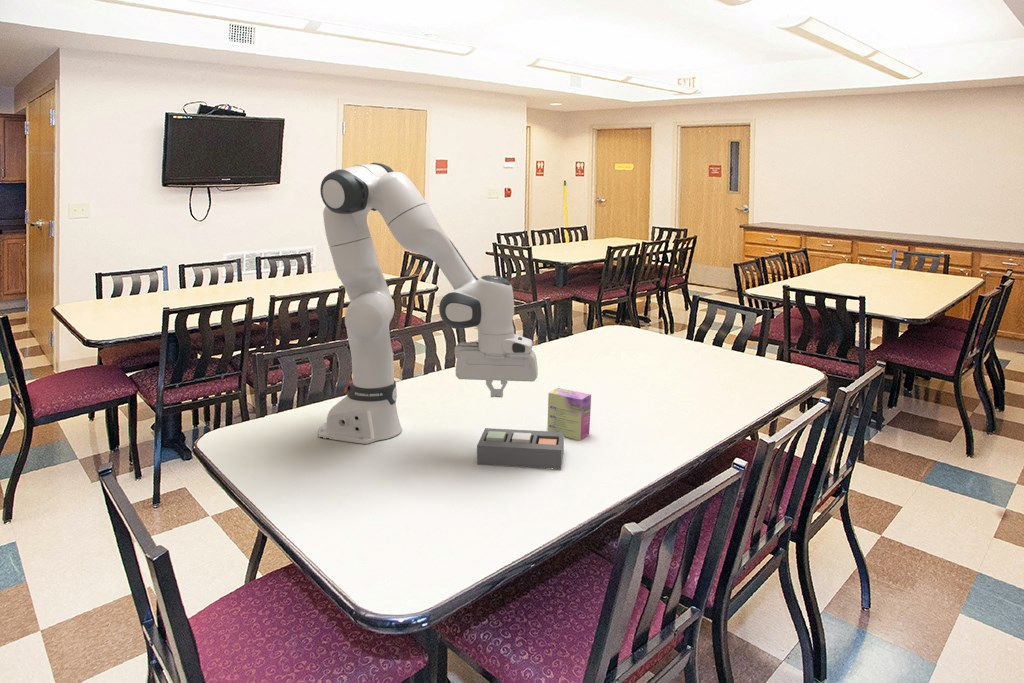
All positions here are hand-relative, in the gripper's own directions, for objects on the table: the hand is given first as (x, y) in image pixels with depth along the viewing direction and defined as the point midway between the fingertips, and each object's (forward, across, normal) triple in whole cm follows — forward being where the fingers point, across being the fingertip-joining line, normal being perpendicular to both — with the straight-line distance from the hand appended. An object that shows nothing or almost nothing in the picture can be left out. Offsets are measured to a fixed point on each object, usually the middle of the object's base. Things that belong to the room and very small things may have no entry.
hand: (496, 396), depth 171 cm
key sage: (+12, 0, 0) cm, 12 cm away
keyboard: (+16, +6, 0) cm, 17 cm away
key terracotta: (+13, +13, 0) cm, 18 cm away
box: (+16, +17, +18) cm, 30 cm away
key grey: (+12, +6, 0) cm, 13 cm away
